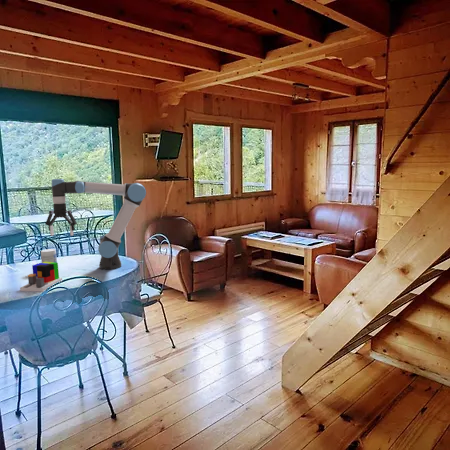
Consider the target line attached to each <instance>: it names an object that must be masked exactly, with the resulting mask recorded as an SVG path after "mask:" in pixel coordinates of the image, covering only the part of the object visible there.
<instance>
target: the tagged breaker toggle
mask: <svg viewBox="0 0 450 450" xmlns="http://www.w3.org/2000/svg"><path fill="white" fill-rule="evenodd" d="M27 278H28V279H27V280H28V284H34V283H36V274H33V273H29V274H27Z"/></svg>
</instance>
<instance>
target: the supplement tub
mask: <svg viewBox="0 0 450 450" xmlns="http://www.w3.org/2000/svg"><path fill="white" fill-rule="evenodd" d="M40 259H41V260H40V261H41V263H42V262H56V263H58V259H57V251H56V249H55V248H49V249H48V248H47V249H46V248H45V249H43V250H40Z"/></svg>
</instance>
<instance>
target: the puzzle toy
mask: <svg viewBox="0 0 450 450" xmlns="http://www.w3.org/2000/svg"><path fill="white" fill-rule="evenodd" d="M32 274H36V279H37V278H44V283H48V282H50V281H53V280H56V279H58V278H59V277H60V275H59V263H58V262H57V263H56V262H42V261H41V262H40V263H36V264H33V265H32Z"/></svg>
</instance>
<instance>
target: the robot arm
mask: <svg viewBox="0 0 450 450" xmlns="http://www.w3.org/2000/svg"><path fill="white" fill-rule="evenodd" d="M84 193H85V194H86V193H87V194H100V195H112V196H113V195H115V196H123V200H124V201H123V204H122V206H121V208H120V210H119V212H118V213H117V216H116V218H115V220H114V222H113V223H112V225H111V227H110V229H109V231H108V233H106V234H104V235H103V234H102V235H100V236H99V241H100V243H99V245H98V253H99V255H100V256H101V257H100V261H99V265H98V267H99V269H100V270H115V269H119V268H121V267H122V261H121V259H120V256H119V247H120V245H121V243H122V241H121V238H122V236H123V235H124V233H125V230H126V228H127V227H128V224H129V222H130V221H131V218H132V217H133V214H134V212H135V210H136V209H137V208H138V207H140V206H141V205H142V202H143V200H145V198H146V196H147V190H146V188H145V186H144V185H143V184H142V183H139V182H133V183H131V182H129V183H127V182H126V183H124V184H123V183H121V184H120V183H108V182H94V181H83V180H82V181H81V180H75V181H65V180H64V178H53V179H52V180H51V195H52V203H53V209H51V210H48V211H49V212H48V216H47V218H46V221H45V224H44V225H45V226H48V231H49V232H50V236H51V237H52V236H54V235H55V231H54V225H53V224H54V223H55V221H57V219H59V218H62V219H65V220H66V222H68V224H69V225H70V226H69V232H70V234H69V235H70V236H71V237H72V236H75V235H74V233H75V232H74V231H75V225H77V224H78V222H77V220H76V218H75V217H74V216H73V214H72V210H71V209H70V210H67V204H66V201H67V200H66V194H84ZM52 217H53V218H52Z"/></svg>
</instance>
